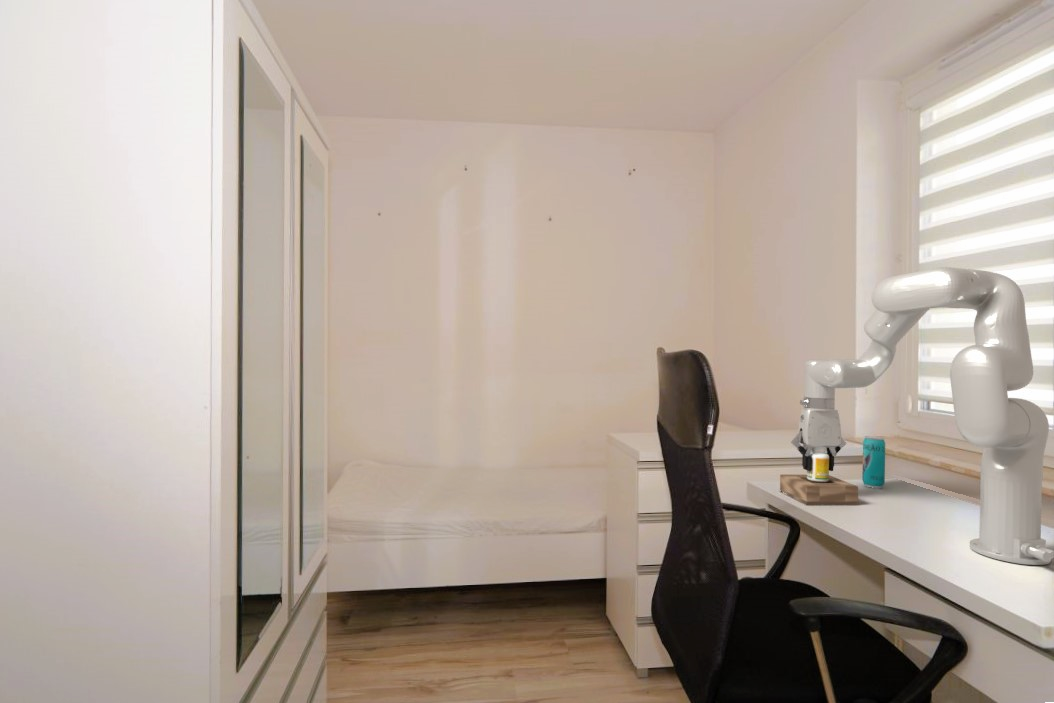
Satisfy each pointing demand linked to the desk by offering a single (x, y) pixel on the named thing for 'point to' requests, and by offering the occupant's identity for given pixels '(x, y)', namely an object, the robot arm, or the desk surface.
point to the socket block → (819, 490)
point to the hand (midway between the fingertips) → (818, 469)
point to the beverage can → (873, 461)
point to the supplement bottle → (819, 465)
